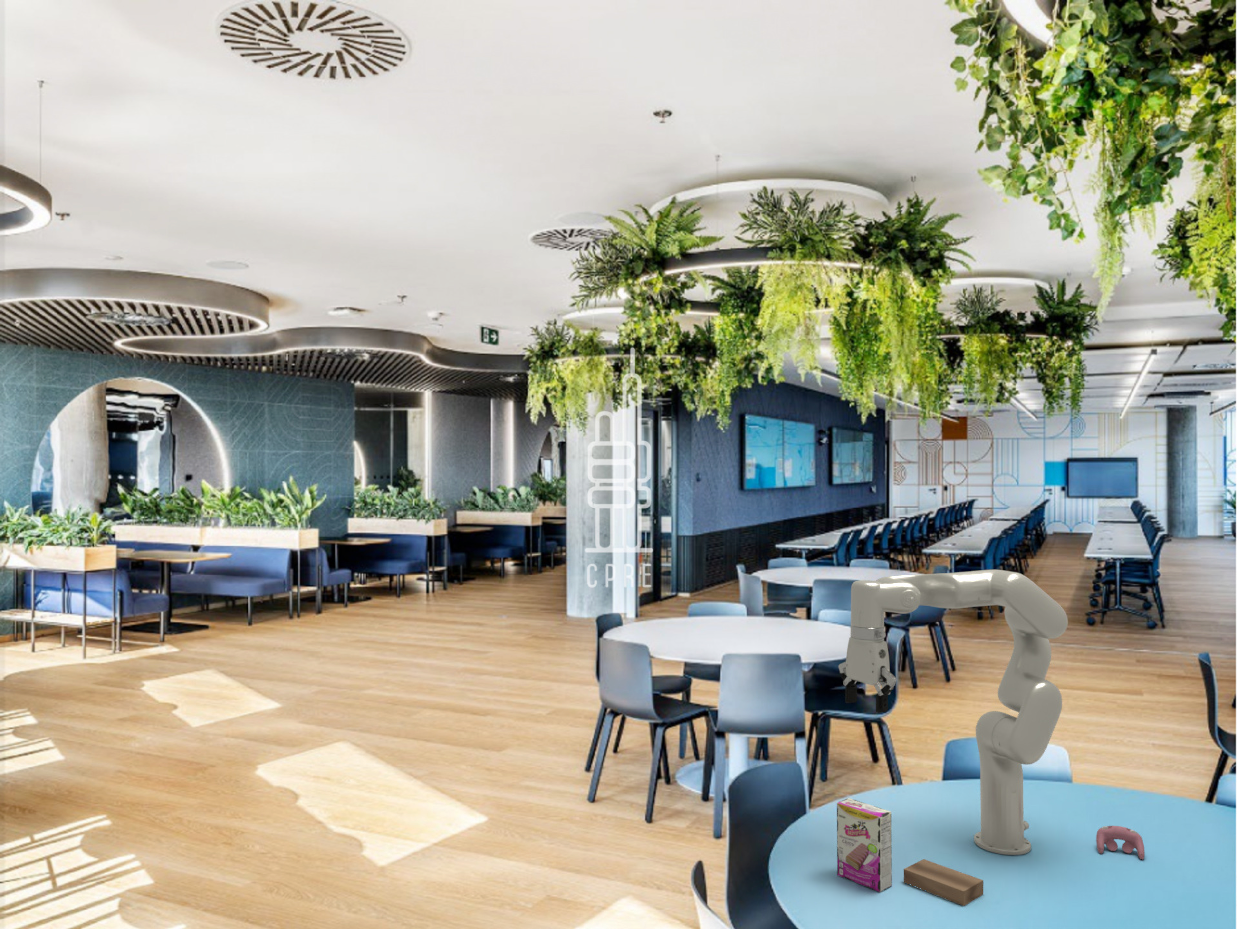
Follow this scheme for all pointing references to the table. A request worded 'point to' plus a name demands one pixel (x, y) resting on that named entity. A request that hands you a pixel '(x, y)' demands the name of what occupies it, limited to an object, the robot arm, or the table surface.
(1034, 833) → the table surface
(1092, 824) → the table surface
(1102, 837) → the video game controller
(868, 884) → the candy bar box
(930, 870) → the walnut base
